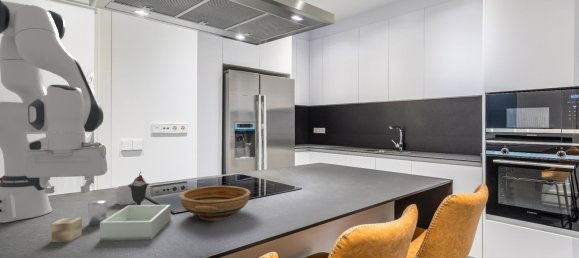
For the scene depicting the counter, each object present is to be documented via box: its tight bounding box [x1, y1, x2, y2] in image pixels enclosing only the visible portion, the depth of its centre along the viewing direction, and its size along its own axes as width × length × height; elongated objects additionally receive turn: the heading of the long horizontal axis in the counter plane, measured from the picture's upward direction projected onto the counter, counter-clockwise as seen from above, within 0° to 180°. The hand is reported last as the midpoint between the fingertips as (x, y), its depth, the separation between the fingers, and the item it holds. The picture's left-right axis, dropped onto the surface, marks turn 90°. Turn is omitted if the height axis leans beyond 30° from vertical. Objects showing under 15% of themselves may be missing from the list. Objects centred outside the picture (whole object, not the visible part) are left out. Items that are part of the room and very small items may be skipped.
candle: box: [113, 184, 137, 206], centre depth 124 cm, size 9×9×6 cm
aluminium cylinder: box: [87, 199, 108, 227], centre depth 98 cm, size 5×5×7 cm
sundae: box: [127, 171, 150, 205], centre depth 111 cm, size 7×7×15 cm
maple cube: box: [50, 217, 83, 243], centre depth 86 cm, size 5×5×5 cm
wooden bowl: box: [178, 185, 252, 221], centre depth 108 cm, size 30×24×8 cm
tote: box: [99, 204, 172, 242], centre depth 93 cm, size 18×14×5 cm
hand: (67, 192), depth 86 cm, fingers open, 8 cm apart
